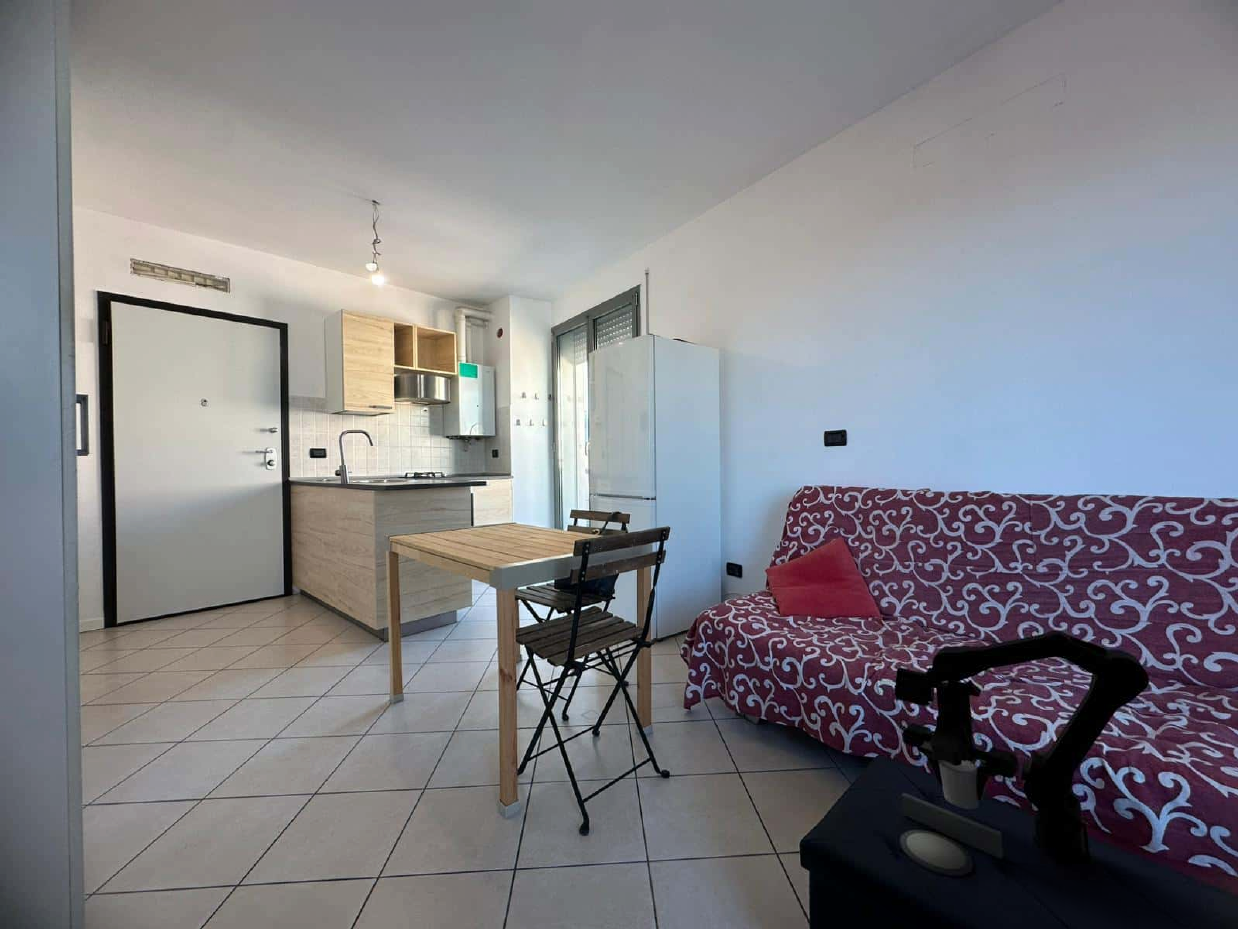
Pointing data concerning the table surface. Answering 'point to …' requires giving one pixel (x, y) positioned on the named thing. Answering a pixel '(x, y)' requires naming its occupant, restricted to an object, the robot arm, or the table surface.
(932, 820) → the low wall
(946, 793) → the shot glass
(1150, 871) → the table surface
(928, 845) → the grey round disc
